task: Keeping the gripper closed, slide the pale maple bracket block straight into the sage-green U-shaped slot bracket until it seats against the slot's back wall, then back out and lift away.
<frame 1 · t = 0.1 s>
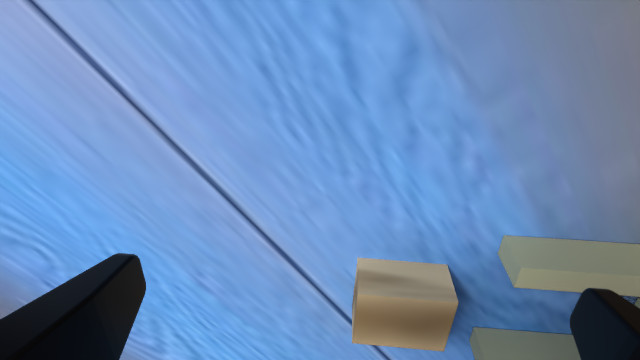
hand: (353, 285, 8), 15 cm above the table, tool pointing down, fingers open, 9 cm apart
sage slot bracket: (574, 299, 27), on the table
maple bracket block: (397, 283, 28), on the table
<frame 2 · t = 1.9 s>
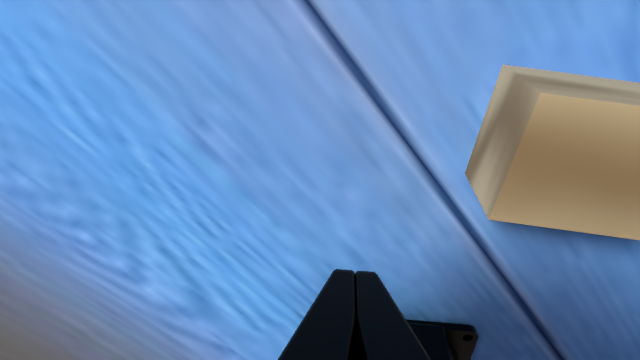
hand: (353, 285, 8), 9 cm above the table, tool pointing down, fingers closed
maple bracket block: (557, 131, 15), on the table
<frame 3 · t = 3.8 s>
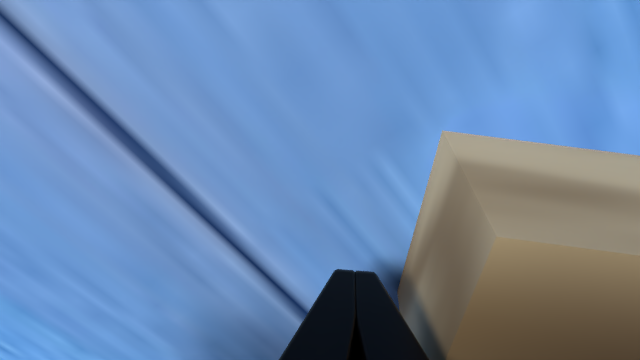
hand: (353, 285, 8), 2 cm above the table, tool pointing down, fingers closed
maple bracket block: (547, 237, 9), on the table, touching gripper
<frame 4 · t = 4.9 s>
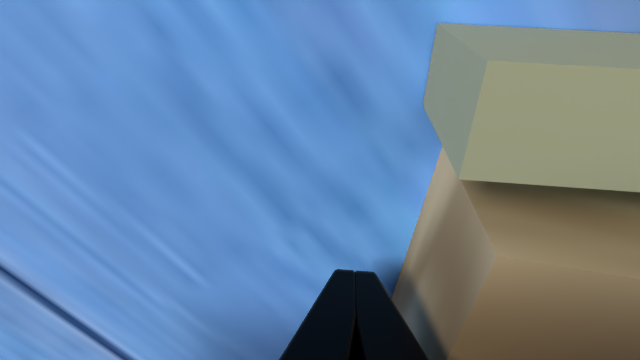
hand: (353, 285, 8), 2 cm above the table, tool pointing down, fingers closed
maple bracket block: (539, 251, 9), on the table, touching gripper
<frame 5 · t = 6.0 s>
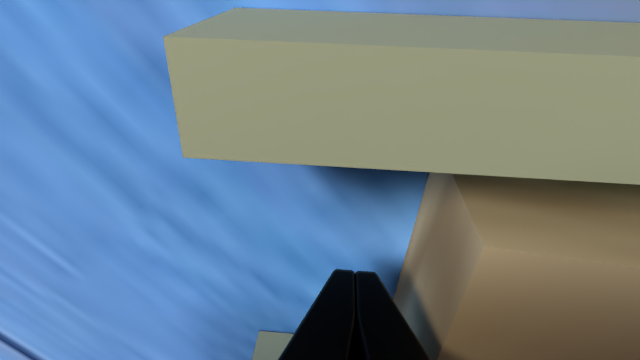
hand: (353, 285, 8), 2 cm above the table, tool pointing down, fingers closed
sage slot bracket: (505, 250, 9), on the table
maple bracket block: (537, 242, 9), on the table
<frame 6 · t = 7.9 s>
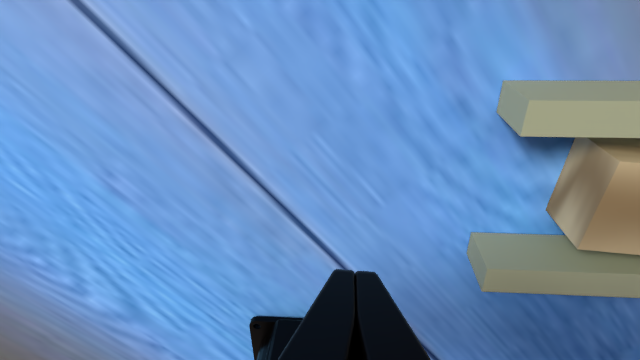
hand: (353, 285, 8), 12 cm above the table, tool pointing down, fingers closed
sage slot bracket: (604, 179, 20), on the table
maple bracket block: (619, 176, 20), on the table
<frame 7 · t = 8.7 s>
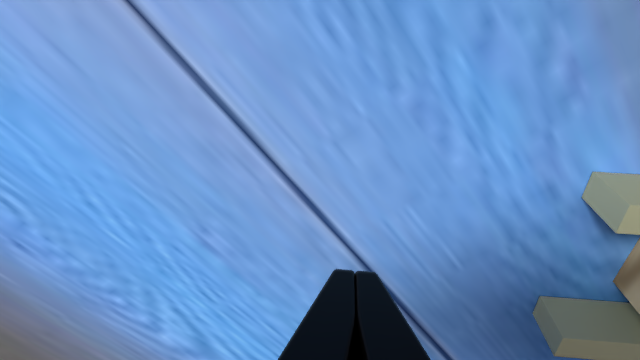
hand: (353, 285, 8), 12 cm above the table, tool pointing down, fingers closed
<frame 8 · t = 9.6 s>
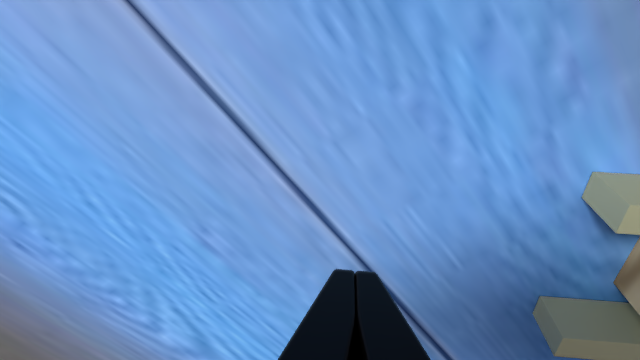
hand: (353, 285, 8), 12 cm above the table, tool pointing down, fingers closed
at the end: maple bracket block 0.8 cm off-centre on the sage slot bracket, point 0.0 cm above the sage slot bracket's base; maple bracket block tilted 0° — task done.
